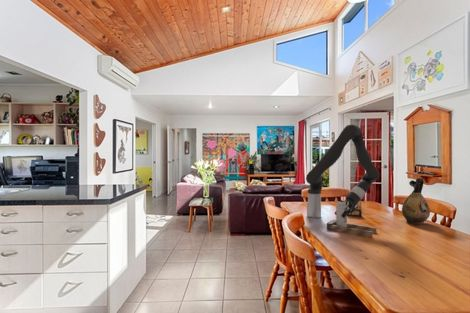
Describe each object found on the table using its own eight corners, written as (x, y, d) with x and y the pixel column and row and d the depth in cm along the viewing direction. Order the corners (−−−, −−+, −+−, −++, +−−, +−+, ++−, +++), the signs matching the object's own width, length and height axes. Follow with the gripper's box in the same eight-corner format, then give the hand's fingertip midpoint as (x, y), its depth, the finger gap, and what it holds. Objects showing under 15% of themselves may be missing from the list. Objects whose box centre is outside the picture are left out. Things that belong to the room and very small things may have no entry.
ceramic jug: (421, 227, 164) (421, 179, 164) (396, 221, 178) (396, 177, 178) (436, 223, 172) (436, 178, 172) (411, 218, 186) (411, 176, 186)
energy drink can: (338, 225, 165) (338, 201, 165) (348, 227, 161) (348, 202, 161) (334, 227, 160) (334, 203, 160) (345, 229, 156) (345, 204, 156)
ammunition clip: (361, 216, 194) (361, 200, 194) (361, 216, 193) (361, 200, 192) (346, 215, 199) (346, 199, 199) (346, 215, 197) (345, 199, 197)
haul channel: (326, 229, 160) (326, 223, 160) (333, 225, 169) (333, 219, 169) (371, 237, 144) (371, 230, 144) (376, 232, 153) (376, 225, 153)
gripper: (344, 189, 169) (328, 209, 166) (360, 192, 155) (342, 214, 152) (351, 197, 170) (335, 217, 168) (367, 201, 157) (350, 222, 154)
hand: (339, 215), depth 160 cm, fingers closed on energy drink can, 6 cm apart
